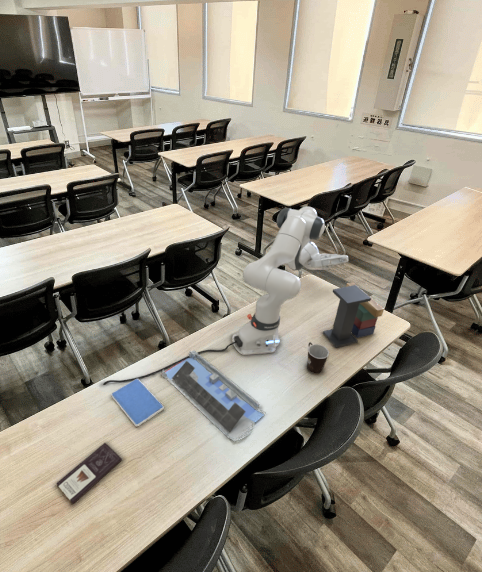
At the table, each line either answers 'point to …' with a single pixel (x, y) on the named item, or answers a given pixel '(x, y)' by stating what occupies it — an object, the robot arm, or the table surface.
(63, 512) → the table surface
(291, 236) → the robot arm
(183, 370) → the blue parts tray
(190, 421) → the table surface
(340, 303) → the stand
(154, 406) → the tablet
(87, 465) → the chocolate bar
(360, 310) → the book stack
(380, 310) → the wooden bar
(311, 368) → the coffee mug
